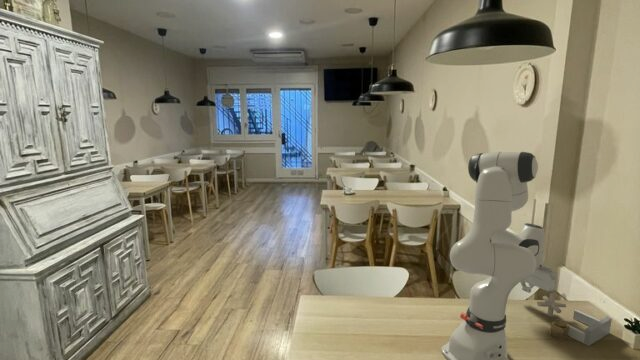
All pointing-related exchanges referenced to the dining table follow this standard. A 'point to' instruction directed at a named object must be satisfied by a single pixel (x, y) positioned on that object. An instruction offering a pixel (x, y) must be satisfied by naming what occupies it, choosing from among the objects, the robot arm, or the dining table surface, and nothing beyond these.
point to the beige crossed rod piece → (551, 304)
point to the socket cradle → (589, 328)
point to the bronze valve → (559, 330)
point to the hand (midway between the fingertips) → (526, 291)
